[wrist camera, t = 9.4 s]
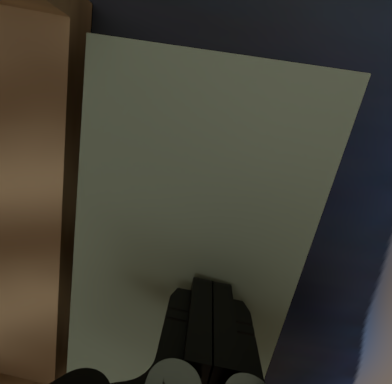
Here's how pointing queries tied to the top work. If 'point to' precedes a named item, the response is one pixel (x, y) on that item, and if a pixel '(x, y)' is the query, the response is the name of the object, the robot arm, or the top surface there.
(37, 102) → the crate
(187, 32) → the top surface
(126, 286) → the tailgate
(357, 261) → the top surface
